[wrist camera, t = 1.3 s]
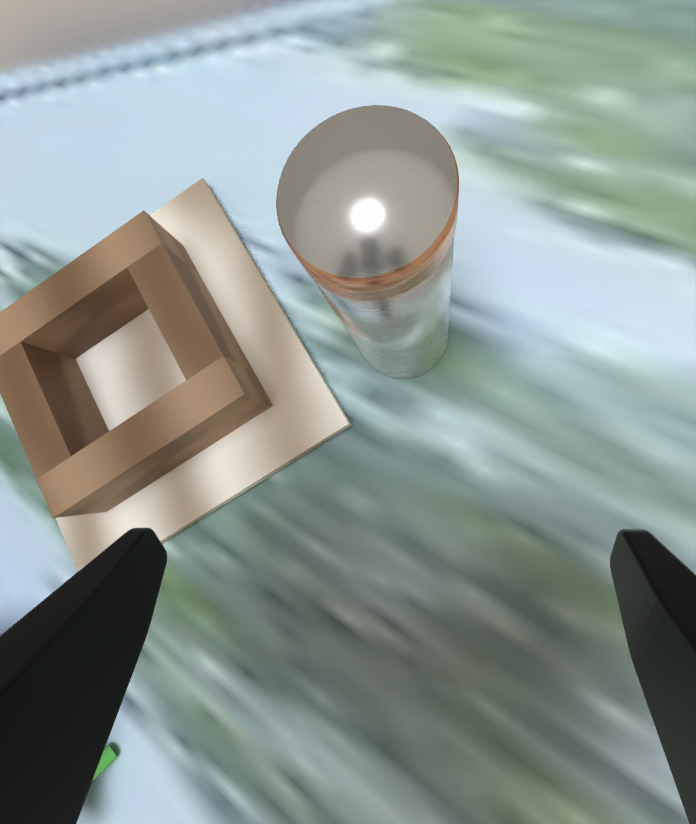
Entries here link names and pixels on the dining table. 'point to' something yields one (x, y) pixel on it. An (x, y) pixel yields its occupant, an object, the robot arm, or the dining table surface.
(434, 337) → the grey topped cylinder
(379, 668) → the dining table surface
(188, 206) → the socket
